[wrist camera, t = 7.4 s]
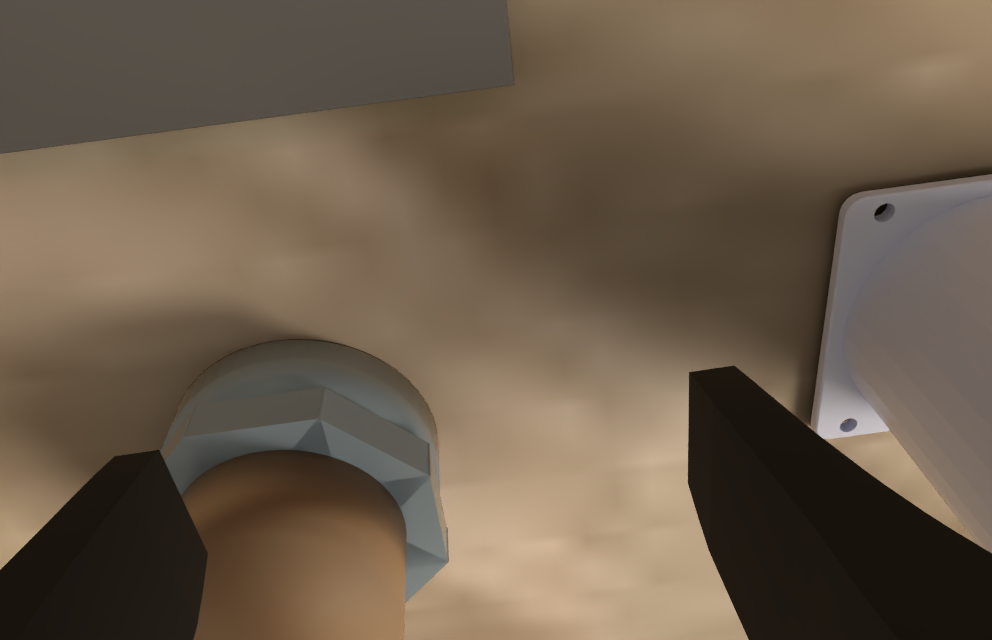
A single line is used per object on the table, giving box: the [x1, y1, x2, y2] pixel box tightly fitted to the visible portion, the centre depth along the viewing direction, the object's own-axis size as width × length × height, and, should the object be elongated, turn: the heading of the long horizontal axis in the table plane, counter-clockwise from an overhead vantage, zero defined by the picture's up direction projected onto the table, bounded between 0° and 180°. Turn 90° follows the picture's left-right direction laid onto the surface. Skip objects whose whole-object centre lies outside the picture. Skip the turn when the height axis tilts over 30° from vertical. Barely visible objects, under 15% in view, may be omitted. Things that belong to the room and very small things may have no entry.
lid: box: [181, 450, 407, 640], centre depth 19 cm, size 6×6×3 cm
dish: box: [160, 340, 449, 603], centre depth 22 cm, size 8×8×4 cm
